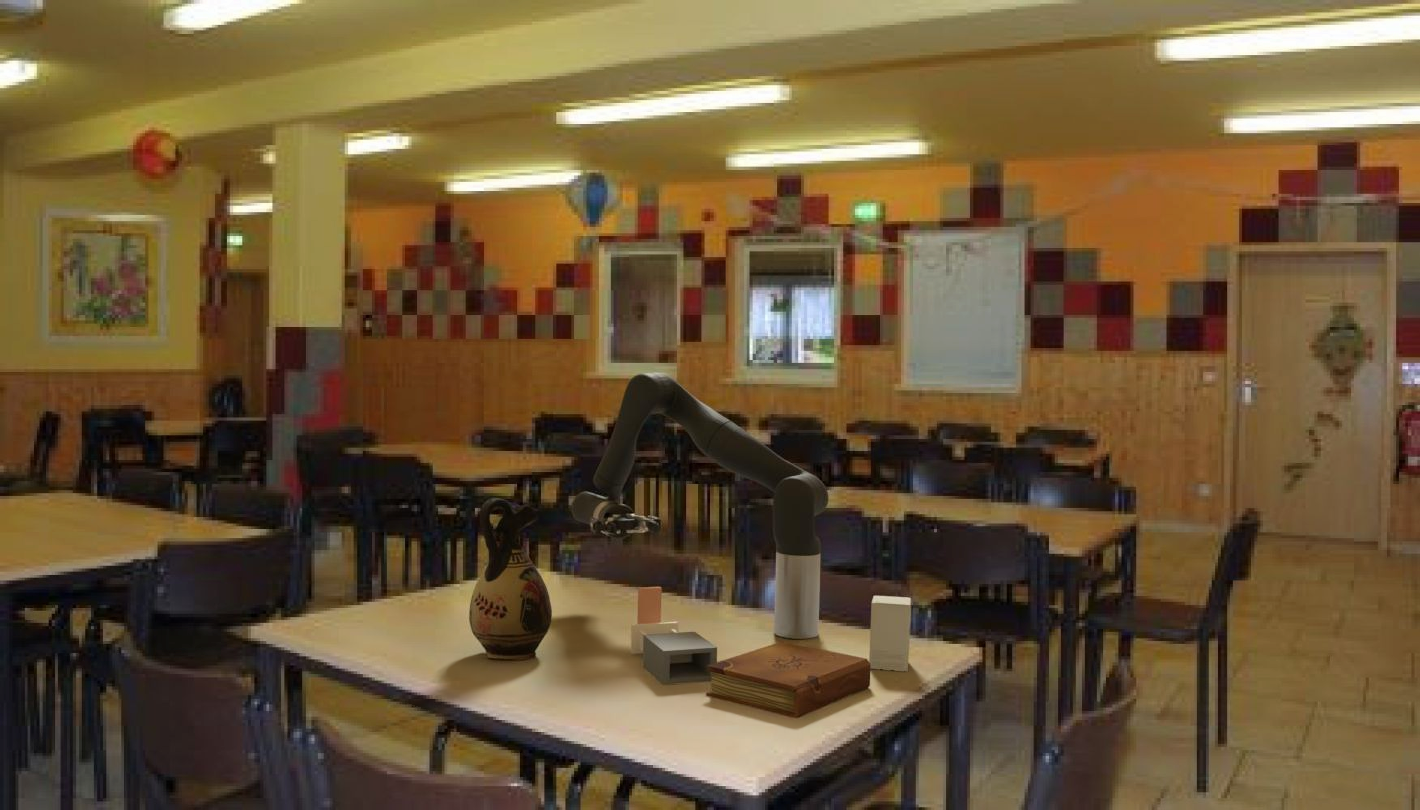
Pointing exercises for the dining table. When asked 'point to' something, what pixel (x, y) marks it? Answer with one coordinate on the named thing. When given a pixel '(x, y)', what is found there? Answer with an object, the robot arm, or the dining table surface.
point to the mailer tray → (652, 622)
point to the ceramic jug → (509, 589)
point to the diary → (788, 678)
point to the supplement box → (890, 633)
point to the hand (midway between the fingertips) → (635, 529)
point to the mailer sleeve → (668, 644)
